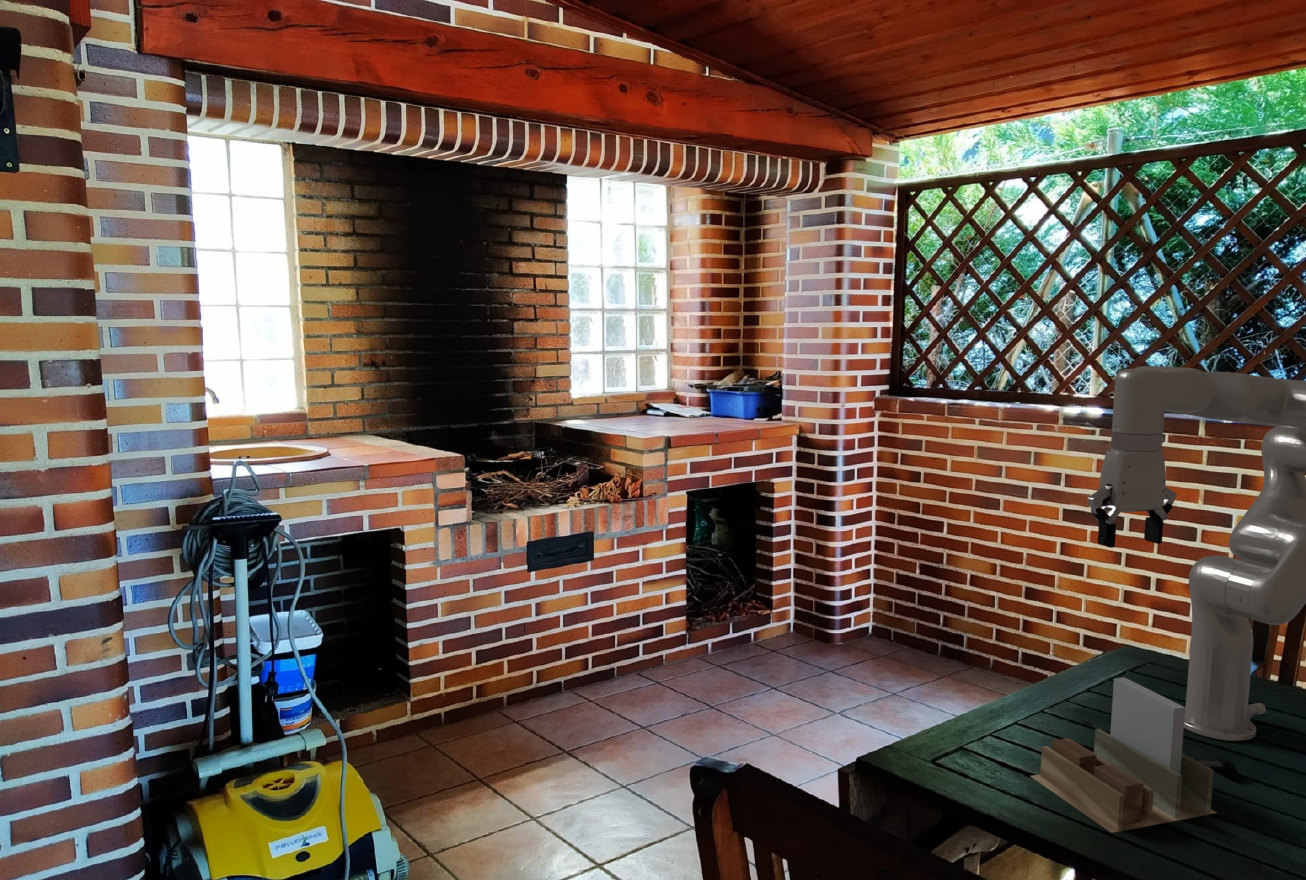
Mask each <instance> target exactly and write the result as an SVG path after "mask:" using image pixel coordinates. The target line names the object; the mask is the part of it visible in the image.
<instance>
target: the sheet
mask: <svg viewBox="0 0 1306 880" xmlns="http://www.w3.org/2000/svg"><path fill="white" fill-rule="evenodd" d="M1185 707H1186V706H1183V705H1181V704H1179V703H1177V702H1176V701H1173V700H1171V699H1169V698H1167V697H1165V696H1163V695H1162V694H1159V693H1157V692H1156V691H1153V690H1151V689H1149V688H1146V687H1144V686H1142V685H1141V684H1138V683H1136V682H1134V681H1133V680H1131V679H1128V678H1126V677H1118V678H1117V677H1116V678H1115V677H1114V678H1113V691H1112V706H1111V719H1110V720H1111V721H1110V731H1109V732H1110V734H1109V735H1111V736H1113V737H1115V738H1117V739H1118V740H1120V741H1122V742H1124V743H1126V744H1127V745H1129V746H1131V747H1133V748H1134V749H1136V750H1138V751H1140V752H1142V753H1143V754H1145V755H1147V756H1149V757H1150V758H1152V759H1154V760H1156V761H1158V762H1159V763H1161V764H1163V765H1165V766H1166V767H1168V768H1170V769H1172V770H1174V771H1175V772H1177V773H1179V774H1180V770H1181V756H1182V753H1183V742H1184V729H1185V728H1184V717H1185Z"/></svg>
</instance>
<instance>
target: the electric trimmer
mask: <svg viewBox="0 0 1306 880" xmlns="http://www.w3.org/2000/svg"><path fill="white" fill-rule="evenodd" d="M1193 759H1194V760H1196V761H1198V762H1200V763H1202V764H1203V765H1205V766H1207V767H1209V768H1211V769H1213V770H1214V772H1215V773H1216V774H1218V775H1220V776H1222V777H1223V778H1226V779H1230V780H1232V781H1234V782H1237V781H1241V776H1240V774H1239V771H1238V770H1237V768H1236V766H1235V765H1234V763H1233V762H1232V761H1230V760H1229V759H1226V760H1225V759H1224V758H1223V757H1220V758H1216V759H1201V758H1200V759H1196V758H1193Z"/></svg>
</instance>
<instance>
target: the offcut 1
mask: <svg viewBox="0 0 1306 880" xmlns="http://www.w3.org/2000/svg"><path fill="white" fill-rule="evenodd" d="M1051 749H1052V750H1054V751H1055V752H1057V753H1058V754H1060V755H1062V756H1063V757H1065V758H1066V759H1068V760H1070V761H1071V762H1073V763H1074V764H1076V765H1077V766H1079V767H1081V768H1082V769H1084V770H1085V771H1087V772H1089V773H1090V774H1092V775H1093V776H1094V767H1096V760H1097V755H1096V754H1094V751H1093V752H1092V751H1090V750H1089V749H1088V748H1086V747H1084V746H1083V745H1081V744H1079V743H1078V742H1076V741H1074V740H1073V739H1071V738H1069V737H1068V738H1067V737H1066V738H1061V739H1060V738H1059V739H1055V740H1051Z"/></svg>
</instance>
